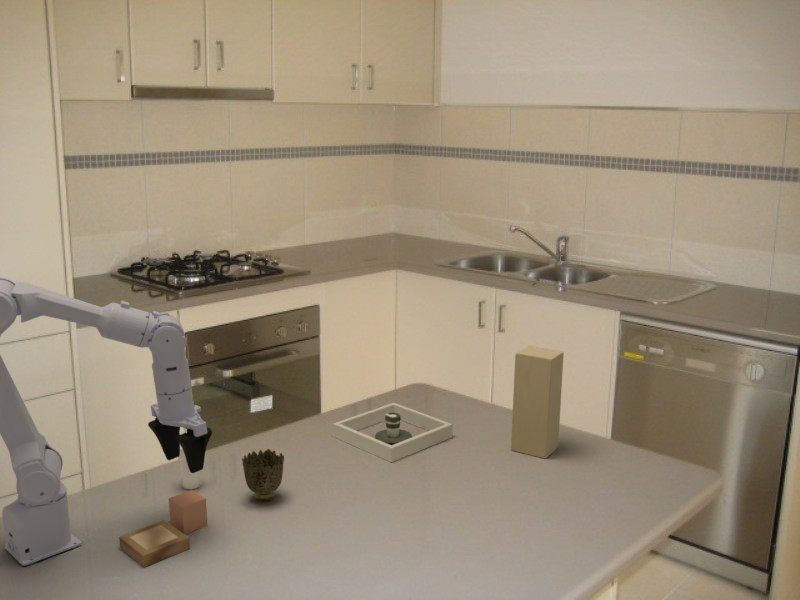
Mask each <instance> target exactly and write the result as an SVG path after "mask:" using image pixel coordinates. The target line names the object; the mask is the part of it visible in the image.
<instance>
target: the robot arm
mask: <svg viewBox="0 0 800 600" xmlns="http://www.w3.org/2000/svg"><path fill="white" fill-rule="evenodd" d="M17 316H20V323H25V322H28V321H31V320H34V319H36V318H39V317H43V316H44V317H49V318H52V319H56V320H57V319H58V320H62V321H66V322H67V321H68V322H71V323H76V324H80V325H85V326H89V327H93V328H96V330H97V332H98V333H99V334H100V337H102V338H103V339H107V340H112V341H115V342H120V343H123V344H125V345H126V344H127V345H130V346H134V347H138V348H140V349H141V348H148V349H149V351H150V352H151V356H152V364H151V369H152V374H153V375H152V376H153V381H154V382H153V383H154V389H155V393H156V394H155V395H156V400H157V401H156V402H157V403H154V404H151V405H150V411H151V416H152V417H154V420H151V421H148V423H147V424H148V425H147V426H148V427H149V429H150V430H151V431H152V433H154V435H155V437H156V438H157V440H158V442H159V444H160V447H161V450H162V451H163V453H164V454H163V455H164V456H165V458H166V460H167V461H172V460H175V459H178V457H179V456H180V445H181V447H182V449H183V451H184V454H185V457H186V461H187V464H188V468H189V470H190V472H191V473H195V472H198V471H200V470H201V471H202V470H203V469H204V464H205V458H206V451H207V447H208V443H209V442H210V439H211V436H212V434H213V431H212V429H211V428H210V427H208V426H207V421H204V420H203V419H202V418H201V416H200V414H199V413H200V412H202V407H201V406H200V405H197V404H195V403H194V402H195V401H194V396H193V393H194V392H193V388H192V382H191V381H192V380H191V372H190V365H189V360H188V358H187V349H186V346H187V340H188V339H187V336H186V334H185V331H184V329H183V328H184V327H183V326H182V324H181V321H179V320H178V319H177V318H176V317H175V316H173V315H170V314H169V313H168V312H161V313H160V312H158V311H156V310H153V311H152V312H149V311H145V310H142V309H137V308H134V307H131V306H130V302H127V301H125V300H121V301H120V303H117V302H110V303H109V304H106V305H104V306H99V305H96V304H93V303H89V302H86V301H83V300H80V299H77V298H74V297H72V296H69V295H65V294H62V293H59V292H55V291H53V290H50V289H46V288H44V287H40V286H37V285H34V284H31V283H29V282H25V281H17V280H16V282H15V281H13V280H11V279H9V278H5V277H0V337H2V334H4V333H5V332H6V331H7V330H8V329H9V328H10V327H11V326H12V325H13V323H14V322H15V321H16V319H17ZM181 428H183V429H186V432H184V433H181V434H180V432H181V431H180V430H181ZM179 434H180V435H179ZM0 436H1V438H2V440H3V442H4V444H5V446H6V448H7V450H8V452H9V457H10V463H11V466H12V470H13V472H14V474H15V477H16V487H15V488H16V489H15V490H16V493H17V498H16V499H15V500H14V501H13V502H11V503H9V504H7V505H5V506H3V508H2V513H1V515H2V525H3V533H4V539H5V540H4V541H5V545H4V549H5V550H6V551H7V552H8V553H9V554H10V555H11V556H12V557H13V558H14V559H15V560H16V561H17V562H18V563H19V564H20V565H21V566H23V567H25V566H28V565H31V564H34V563H36V562H39V561H41V560H44V559H47V558H49V557H51V556H52V557H53V556H55V555H58V554H60V553H63V552H66V551H68V550H71V549H73V548H76V547H79V546H81V545H82V541H81V540H80V539H79V538H77V537H76V536H75V535H74V534H73V533H72V532H71V523H70V512H69V502H68V501H69V500H68V492H67V487H66V485H65V484H64V483H62V481H61V472H62V468H63V463H64V462H63V461H64V460H63V457H62V455H61V453H60V452H59V451H58V450H57V449H56V448H54V447H53V446H51V445H50V444H49V443H48V441H47V438H46V437H45V436H44V435H43V434H42V433H41V432H39V430H38V429H37V426H36V424H35V422H34V420H33V418H32V416H31V413H30V411H29V410H28V407H27V406H26V404H25V402H24V400H23V398H22V396H21V394H20V392H19V390H18V387H17V386H16V383H14V380H13V377H12V376H11V374H10V372H9V370H8V367H7V365H6V363H5V361H4V360H3V358H2V356H1V354H0Z"/></svg>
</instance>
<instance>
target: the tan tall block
mask: <svg viewBox="0 0 800 600" xmlns="http://www.w3.org/2000/svg"><path fill="white" fill-rule="evenodd" d="M564 356H565V355H564V351H561V350H556V349H549V348H544V347H539V346H534V345H527V346H525V347H523V348H522V349H520V350H518V351H517V352H515V356H514V376H513V397H512V418H511V420H512V421H511V437H510V438H511V439H510V440H511V441H510V442H511V443H510V449H511V451H514V452H517V453H520V454H524V455H529V456H534V457H538V458H541V459H547V458H549V456H550V455H551V454H553V453H554V452H555V451H556V450H557V449H558V448H559V439H560V438H559V435H560V422H561V419H560V418H561V405H562V404H561V403H562V387H563V386H562V385H563V371H564V370H563V369H564Z"/></svg>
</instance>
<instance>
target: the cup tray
mask: <svg viewBox="0 0 800 600" xmlns="http://www.w3.org/2000/svg"><path fill="white" fill-rule="evenodd" d="M386 413H398V414H400V416H401V420H400V421H402V422H404V423H408V424H410V425H413V426H415V427H419V428H421V429H423V430H426V431H425V432H423V433H420V434H416V435H414V436H411V438H409V439H407V440H404V441H402V442H399V443H393V444H392V445H391V444H390V443H384V442H382V441H380V440H377V439H376V437H375V438H374V437H372V436H370V435H368V434H365V433H364V432H360V430H364V429H366V428H368V427H371V426H373V425H377V424H379V423H382V422H386V420H385V415H386ZM453 430H454V429H453V424H452V423H450V422H447V421H444V420H442V419H440V418H437V417H434V416H431V415H429V414H426V413H423V412H420V411H418V410H415V409H412V408H410V407H408V406H405V405H401V404H399V403H396V402H392V403H388V404H386V405H383V406H381V407H380V406H379V407H377V408H374V409H371V410H368V411H365V412H363V413H359V414H357V415H354V416H351V417H348V418H345V419H343V420H340V421H337V422H334V423H332V434H333V435H332V436H333V438H335V439H337V440H339V441H341V442H344V443H347V444H349V445H350V446H353V447H356V448H358V449H360V450H362V451H365V452H367V453H370V454H371V455H374V456H376V457H379V458H380V459H383V460H385V461H388V462H389V463H393V462H396V461H398V460H401V459H403V458H406V457H407V456H410V455H413V454H415V453H418V452H420V451H422V450H425V449H428V448H429V447H433V446H435V445H437V444H440V443H442V442H444V441H447V440H449V439H452V438H453Z"/></svg>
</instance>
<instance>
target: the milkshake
mask: <svg viewBox="0 0 800 600" xmlns="http://www.w3.org/2000/svg"><path fill="white" fill-rule="evenodd" d="M179 435H181V434H179ZM177 459H178V463H179V468H180V477H181V483H182V488H183V489H185V490H188V491H190V490H196V489H198V488H199V487H201V475H202V474H201V471H202V470H200V471H198V472H195V473H191V472H190V470H189V468H188V464H187V461H186V457H185V454H184V451H183V449H182V447H181V445H180V456H179V457H177Z"/></svg>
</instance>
